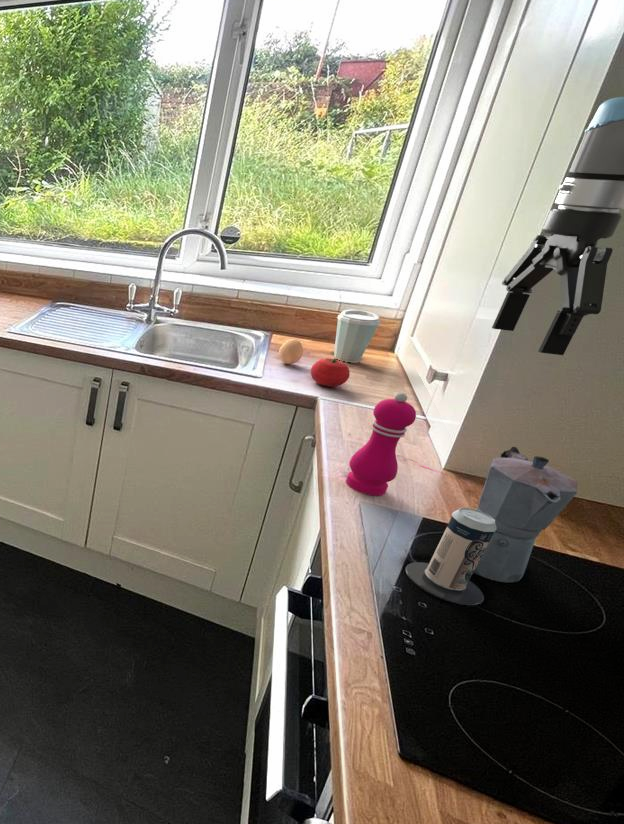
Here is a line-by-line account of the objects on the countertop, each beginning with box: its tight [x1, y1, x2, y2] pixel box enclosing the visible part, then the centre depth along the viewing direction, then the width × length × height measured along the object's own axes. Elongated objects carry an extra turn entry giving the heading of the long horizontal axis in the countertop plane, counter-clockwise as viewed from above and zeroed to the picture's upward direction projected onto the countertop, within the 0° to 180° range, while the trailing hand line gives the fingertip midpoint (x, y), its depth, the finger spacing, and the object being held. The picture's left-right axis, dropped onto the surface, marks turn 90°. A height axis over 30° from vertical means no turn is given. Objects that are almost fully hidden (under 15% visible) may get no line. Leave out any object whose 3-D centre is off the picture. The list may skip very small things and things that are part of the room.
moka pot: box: [473, 446, 578, 584], centre depth 89 cm, size 10×15×20 cm, turn 159°
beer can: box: [425, 507, 497, 590], centre depth 85 cm, size 5×5×12 cm
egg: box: [278, 338, 304, 365], centre depth 175 cm, size 6×6×8 cm
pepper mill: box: [345, 392, 417, 497], centre depth 108 cm, size 7×7×20 cm
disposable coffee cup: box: [333, 309, 382, 364], centre depth 179 cm, size 11×11×15 cm
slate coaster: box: [404, 561, 485, 607], centre depth 87 cm, size 9×9×1 cm
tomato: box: [310, 357, 351, 388], centre depth 160 cm, size 9×9×8 cm
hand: (524, 340), depth 97 cm, fingers open, 13 cm apart
